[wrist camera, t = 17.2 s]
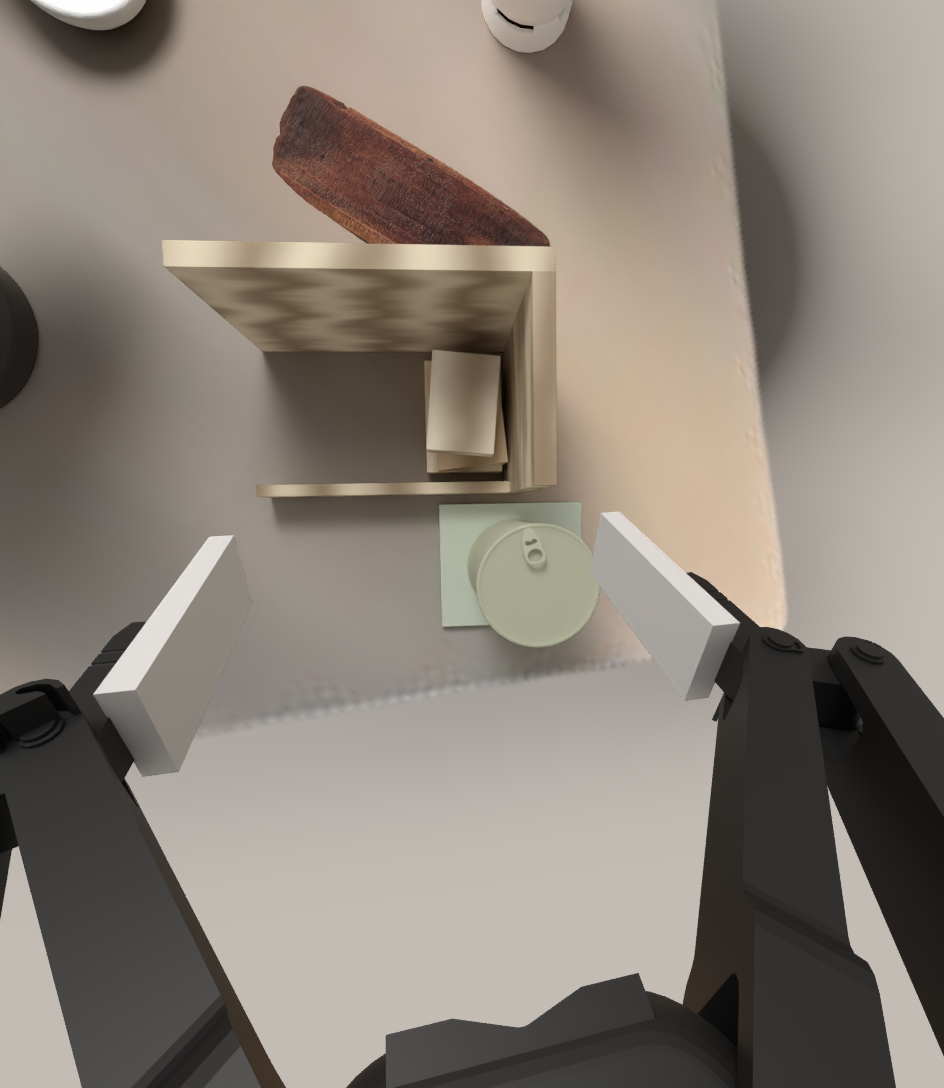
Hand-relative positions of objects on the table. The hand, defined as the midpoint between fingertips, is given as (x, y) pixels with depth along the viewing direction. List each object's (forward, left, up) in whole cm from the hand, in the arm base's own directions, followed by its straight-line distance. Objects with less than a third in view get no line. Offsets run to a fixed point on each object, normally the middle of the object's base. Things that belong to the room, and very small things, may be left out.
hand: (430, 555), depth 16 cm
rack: (-4, +11, -26) cm, 29 cm away
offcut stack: (+2, +10, -26) cm, 28 cm away
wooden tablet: (-2, +30, -27) cm, 40 cm away
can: (+7, -4, -26) cm, 27 cm away
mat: (+7, -4, -26) cm, 28 cm away
